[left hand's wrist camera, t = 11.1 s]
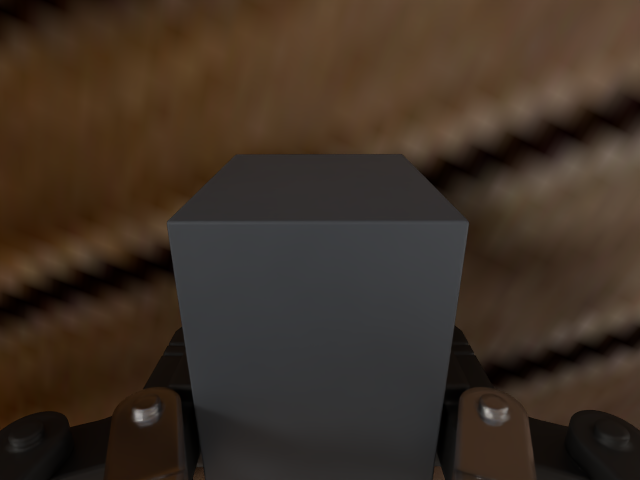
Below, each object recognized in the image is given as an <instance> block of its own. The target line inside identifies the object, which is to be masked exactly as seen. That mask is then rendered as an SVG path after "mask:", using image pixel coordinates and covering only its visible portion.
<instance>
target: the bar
mask: <svg viewBox="0 0 640 480" xmlns="http://www.w3.org/2000/svg"><path fill="white" fill-rule="evenodd" d="M468 226H469V222H468V220H467V219H466V218H465V217H464V216H463V215H462V214H461V213H460V212H459V211H458V210H457V209H456V208H455V207H454V206H453V205H452V204H451V203H450V202H449V201H448V200H447V199H446V198H445V197H444V196H443V195H442V194H441V193H440V192H439V191H438V190H437V189H436V188H435V187H434V186H433V185H432V184H431V183H430V182H429V181H428V180H427V179H426V178H425V177H424V176H423V175H422V174H421V173H420V172H419V171H418V170H417V169H416V168H415V167H414V166H413V165H412V164H411V163H410V162H409V161H408V160H407V159H406V158H405V157H404V156H403V155H402V154H269V155H235V156H234V157H233V158H232V159H231V160H230V161H229V162H228V163H227V164H226V165H225V166H224V167H223V168H222V169H221V170H220V171H219V172H218V173H217V174H216V175H215V176H214V177H212V178H211V179H210V180H209V181H208V182H207V183H206V184H205V185H204V186H203V187H202V188H201V189H200V190H199V191H198V192H197V193H196V194H195V195H194V196H193V197H192V198H191V199H190V200H189V201H188V202H187V203H186V204H185V205H184V206H183V207H182V208H181V209H180V210H179V211H178V212H177V213H175V214H174V215H173V216H172V217H171V218H170V219H169V220H168V221H167V228H168V235H169V241H170V248H171V255H172V261H173V268H174V275H175V281H176V288H177V295H178V301H179V308H180V315H181V321H182V328H183V335H184V341H185V348H186V355H187V361H188V368H189V375H190V381H191V388H192V395H193V401H194V408H195V415H196V421H197V428H198V435H199V441H200V448H201V455H202V461H203V468H204V475H205V480H432V479H433V472H434V465H435V458H436V451H437V444H438V437H439V430H440V423H441V416H442V409H443V402H444V395H445V388H446V381H447V374H448V367H449V360H450V353H451V346H452V339H453V332H454V325H455V318H456V311H457V303H458V296H459V289H460V282H461V275H462V268H463V261H464V254H465V247H466V240H467V233H468Z"/></svg>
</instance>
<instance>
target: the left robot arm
mask: <svg viewBox="0 0 640 480" xmlns="http://www.w3.org/2000/svg"><path fill="white" fill-rule="evenodd" d="M434 466H441V468H442V471H443V474H444V477H445V480H640V431H639V430H638V429H637V428H635V427H634V426H633V425H631V424H629V423H628V422H626V421H624V420H623V419H621V418H619V417H616V416H614V415H611V414H608V413H605V412H601V411H595V410H583V411H579V412H577V413H575V414H574V415H573V416H572V417H571V420H570V423H569V426H568V427H567V426H562V425H558V424H554V423H550V422H545V421H541V420H537V419H534V418H531V417H528V415H527V412H526V410H525V409H524V407H523V406H522V405H521V404H520V403H519V402H518V401H517V400H516V399H515V398H513V397H512V396H510V395H508V394H506V393H504V392H502V391H500V390H497V389H494V388H493V386H492V384H491V382H490V380H489V379H488V377H487V375H486V373H485V372H484V370H483V368H482V366H481V364H480V363H479V361H478V359H477V357H476V356H475V355H474V352H473V350H472V348H471V347H470V345H468V341H467V340H466V338H465V336H464V334H463V332H462V331H461V330H460V329H459V328H457V327H456V326H455V325H454V332H453V339H452V346H451V353H450V360H449V367H448V374H447V381H446V388H445V395H444V402H443V409H442V416H441V423H440V430H439V437H438V444H437V451H436V458H435V465H434ZM196 467H203V461H202V455H201V448H200V441H199V435H198V428H197V421H196V415H195V408H194V401H193V395H192V388H191V381H190V375H189V368H188V361H187V355H186V348H185V341H184V335H183V328H182V327H181V328H180V329H178V330H177V331H176V332H175V334H174V336H173V338H172V339H171V341H170V343H169V346H167V348H166V350H165V352H164V355H163V356H162V357H161V359H160V360H159V362H158V364H157V366H156V367H155V369H154V371H153V373H152V374H151V376H150V378H149V380H148V381H147V383H146V385H145V387H144V388H143V390H140V391H138V392H136V393H134V394H132V395H130V396H128V397H127V398H125V399H124V400H123V401H122V402H121V403H120V404H119V405H118V406H117V407H116V409H115V411H114V413H113V415H112V416H111V417H108V418H105V419H102V420H99V421H94V422H90V423H86V424H82V425H78V426H73V427H70V426H69V422H68V420H67V418H66V417H65V415H63V414H61V413H58V412H53V411H46V412H39V413H35V414H31V415H28V416H25V417H23V418H21V419H18V420H17V421H15V422H13V423H11V424H9V425H8V426H6V427H5V428H4V429H2V430H1V431H0V480H193V475H194V472H195V469H196Z"/></svg>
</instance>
